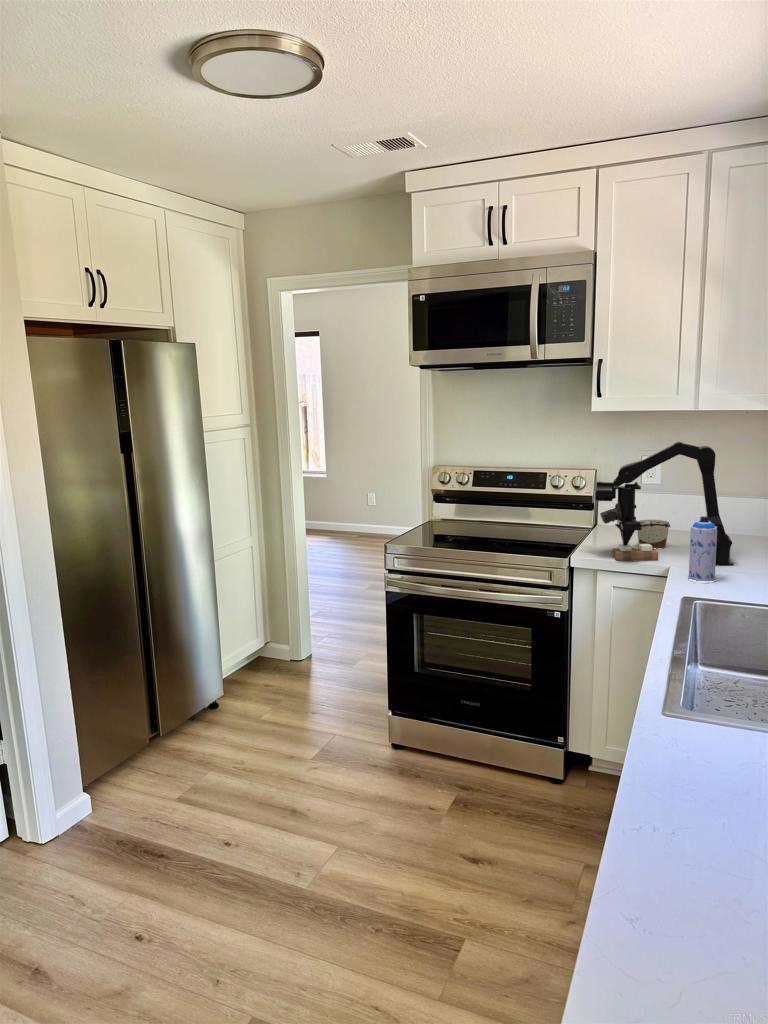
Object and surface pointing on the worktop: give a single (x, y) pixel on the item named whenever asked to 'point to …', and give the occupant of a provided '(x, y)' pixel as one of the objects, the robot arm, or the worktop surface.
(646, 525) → the food container
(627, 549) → the plunger
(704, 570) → the aerosol can
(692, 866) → the worktop surface
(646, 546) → the plunger
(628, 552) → the bar
